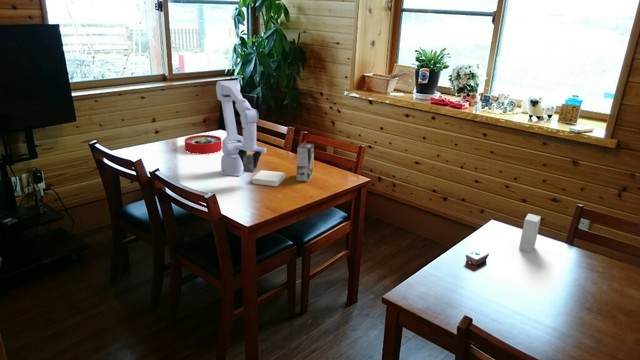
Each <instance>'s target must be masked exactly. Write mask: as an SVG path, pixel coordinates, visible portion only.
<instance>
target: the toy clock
mask: <svg viewBox="0 0 640 360" xmlns="http://www.w3.org/2000/svg"><path fill="white" fill-rule="evenodd" d="M221 149H222V137H220V136H217V135H214V134H213V135H212V134H196V135H191V136H188V137H187V136H186V138H184V151H185V150H186V151H188V152H190V153H189V154H192V153H198V154H197V155H208V154H207V153H212V154H216V153H218V151H219V152H221V151H222V150H221ZM220 150H221V151H220ZM186 151H185V152H186ZM188 152H187V153H188ZM215 152H216V153H215Z"/></svg>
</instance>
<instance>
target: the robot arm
mask: <svg viewBox="0 0 640 360" xmlns="http://www.w3.org/2000/svg"><path fill="white" fill-rule="evenodd" d="M215 91H216V96H217V100H218V101H220V102H221V107H222V114H223V120H224V125H225V131H226V136H225V137H224V138H223V140H221V142H222V150H221V151H222V153H223V154H222V156H221V160H220V168H221V170H220V172H221V173H220V174H221V175H225V176H232V177H240V176H241V175H242V174H244V173H245V172H244V171H243V157H244V156H245V155H247V154H248V152H251V153H252V152H253V153H252V155H253V159H254V168H256V167H257V168H258V164H259V161H260V157H261V155H262V154H266V153H267V147H260V146H258V145H257V123H258V122H259V112H258V110H257V109H254V108H252V106H251V104H250V103H249V102H248V100H247V99H246V98H244V97H243V95H242V93H241V84H240V82H239V80H238V79H235V80H217V82H216V86H215ZM233 101H234V102H235V108H236V110H237V111H238V113H239V115H240V116H239V117H240V122H241V127H242V136H240V135H239V134H238V130H237V129H238V128H237V124H236V118H235V112H234V107H233V106H234V105H233Z"/></svg>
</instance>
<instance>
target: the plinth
mask: <svg viewBox="0 0 640 360" xmlns="http://www.w3.org/2000/svg"><path fill="white" fill-rule="evenodd" d="M285 179H286V172H281V171H273V170H271V171H270V170H264V169H263V170H262V169H261V170H259V171H258V172H257V173H256V174H255V175H254V176H253V177H252V178H251V183H252V184H253V185H254V184H255V185H265V186H269V187H270V186H271V187H278V186H279V185H280V184H281V183H282V182H283V180H285Z"/></svg>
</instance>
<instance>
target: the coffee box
mask: <svg viewBox="0 0 640 360" xmlns="http://www.w3.org/2000/svg"><path fill="white" fill-rule="evenodd" d="M296 151H297V152H296V181H300V182H301V181H302V182H307V183H308V182H310V181H311V179H312V178H313V177H314V160H315V159H314V157H315V156H314V155H315V144H314V143H307V142H306V143H304V142H301V143H300V144H299V146H298V147H297V150H296Z"/></svg>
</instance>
